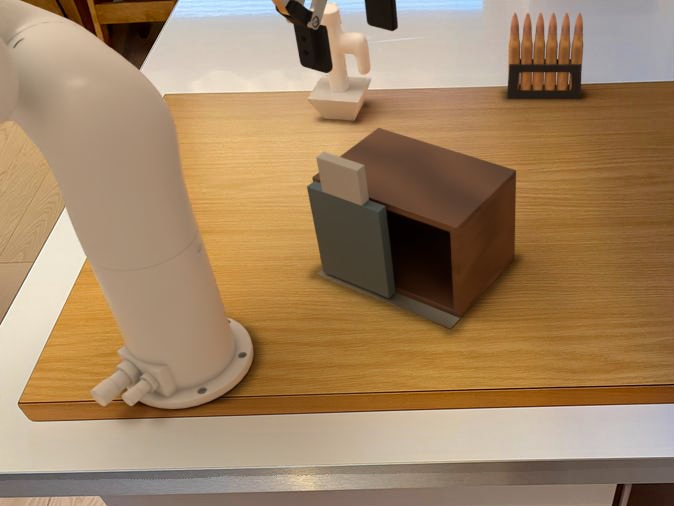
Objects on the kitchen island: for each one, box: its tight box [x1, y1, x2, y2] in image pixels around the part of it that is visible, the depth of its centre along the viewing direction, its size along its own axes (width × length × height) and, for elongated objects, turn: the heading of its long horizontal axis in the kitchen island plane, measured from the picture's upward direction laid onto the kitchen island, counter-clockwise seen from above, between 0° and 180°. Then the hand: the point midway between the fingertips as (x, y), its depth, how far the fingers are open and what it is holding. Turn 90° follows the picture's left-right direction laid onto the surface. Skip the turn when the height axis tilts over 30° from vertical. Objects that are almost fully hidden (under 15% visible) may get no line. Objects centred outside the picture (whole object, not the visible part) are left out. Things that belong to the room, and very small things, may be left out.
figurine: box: [306, 1, 372, 122], centre depth 112 cm, size 7×9×15 cm
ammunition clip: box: [506, 12, 584, 99], centre depth 116 cm, size 11×2×12 cm, turn 88°
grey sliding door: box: [306, 151, 395, 298], centre depth 84 cm, size 1×9×15 cm, turn 59°
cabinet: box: [311, 127, 517, 330], centre depth 88 cm, size 14×18×12 cm
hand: (351, 47), depth 74 cm, fingers open, 9 cm apart
